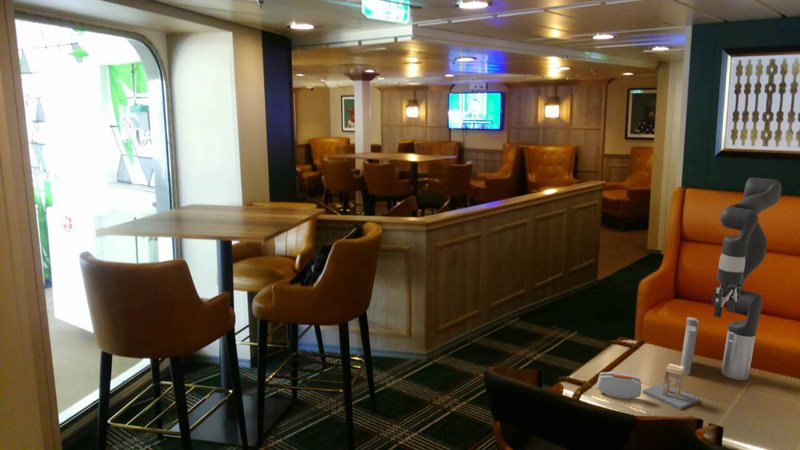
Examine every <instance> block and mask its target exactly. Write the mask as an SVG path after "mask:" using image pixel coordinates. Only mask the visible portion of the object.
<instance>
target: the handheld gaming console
mask: <svg viewBox="0 0 800 450" xmlns="http://www.w3.org/2000/svg"><path fill="white" fill-rule="evenodd" d="M597 378H598V379H597V382H596V390H598V391H599V392H601V393H603V394H605V395H606V396H609V397H612V398H620V399H626V400H627V399H632V398H639V397H641V395H642V382H641V378H640V377H639V376H638V377H637V376H634V375H632V374H628V373H620V372H615V371H608V372H607V371H605V372H599V375H598V377H597Z"/></svg>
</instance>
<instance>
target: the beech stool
mask: <svg viewBox="0 0 800 450" xmlns="http://www.w3.org/2000/svg"><path fill="white" fill-rule="evenodd" d="M683 371H684V367H682V366H680V365H678V364H674V363H669V364H668V365H667V366H666V369H665V375H664V382H663V383H664V388H663V395H665V396H666V395H667V392H669V388H670V386H671V382H673V383H675V385H674V386H675V387H674V388H675V392H674V398H676V399H678V395H680V391H682V383H683V375H684V374H683Z"/></svg>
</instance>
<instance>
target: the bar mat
mask: <svg viewBox="0 0 800 450" xmlns="http://www.w3.org/2000/svg"><path fill="white" fill-rule="evenodd" d="M663 388H664V382H662V383H659V384H655V385H653V386H651V387H648V388H645V389H643V390H642V393H643V394H644V395H647V396H649V397H651V398H653V399H655V400H658V401H660V402H662V403H665V404H667V405H669V406H671V407H673V408H676V409H678V410H683V409H686V408H688V407H690V406H692V405H694V404H697V403H699V402H700V401H701V398H699V397H696V396H695V395H692V394H690V393H687V392H686V391H682V390H681V391H680V395H678V399H676V398H674V392H675V387H674V386H671V385H670V388H669V392H667V395H666V396H665V395H663Z"/></svg>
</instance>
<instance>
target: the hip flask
mask: <svg viewBox="0 0 800 450" xmlns="http://www.w3.org/2000/svg"><path fill="white" fill-rule="evenodd" d="M698 329H699V319H697V318H696V317H691V316H689V317H688V316H687V317H686V325H685V330H684V331H685V332H684V339H683V345H682V352H681V360H680V364H679V366H682V367H684V371H683V375H684V376H690V375H691V370H692V364H693V361H694V355H695V354H694V353H695V349H696V341H697V335H698V334H697V333H698Z"/></svg>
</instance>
